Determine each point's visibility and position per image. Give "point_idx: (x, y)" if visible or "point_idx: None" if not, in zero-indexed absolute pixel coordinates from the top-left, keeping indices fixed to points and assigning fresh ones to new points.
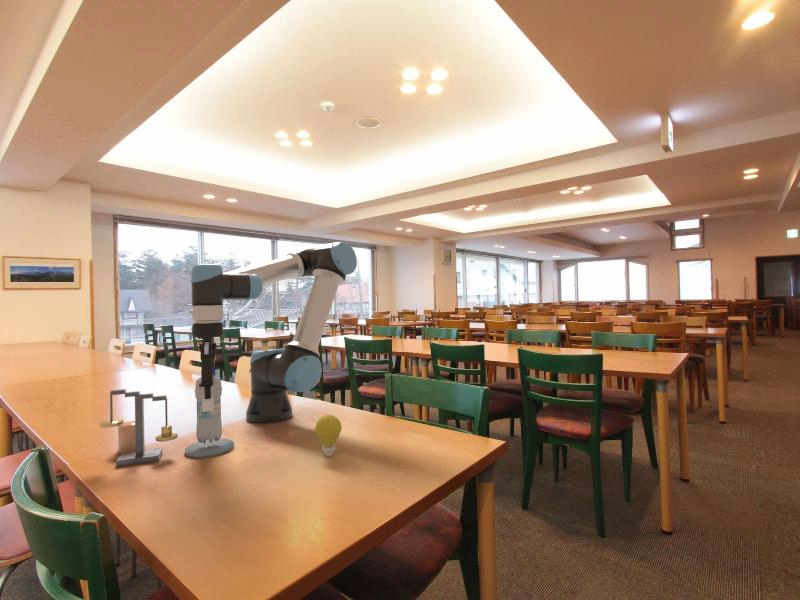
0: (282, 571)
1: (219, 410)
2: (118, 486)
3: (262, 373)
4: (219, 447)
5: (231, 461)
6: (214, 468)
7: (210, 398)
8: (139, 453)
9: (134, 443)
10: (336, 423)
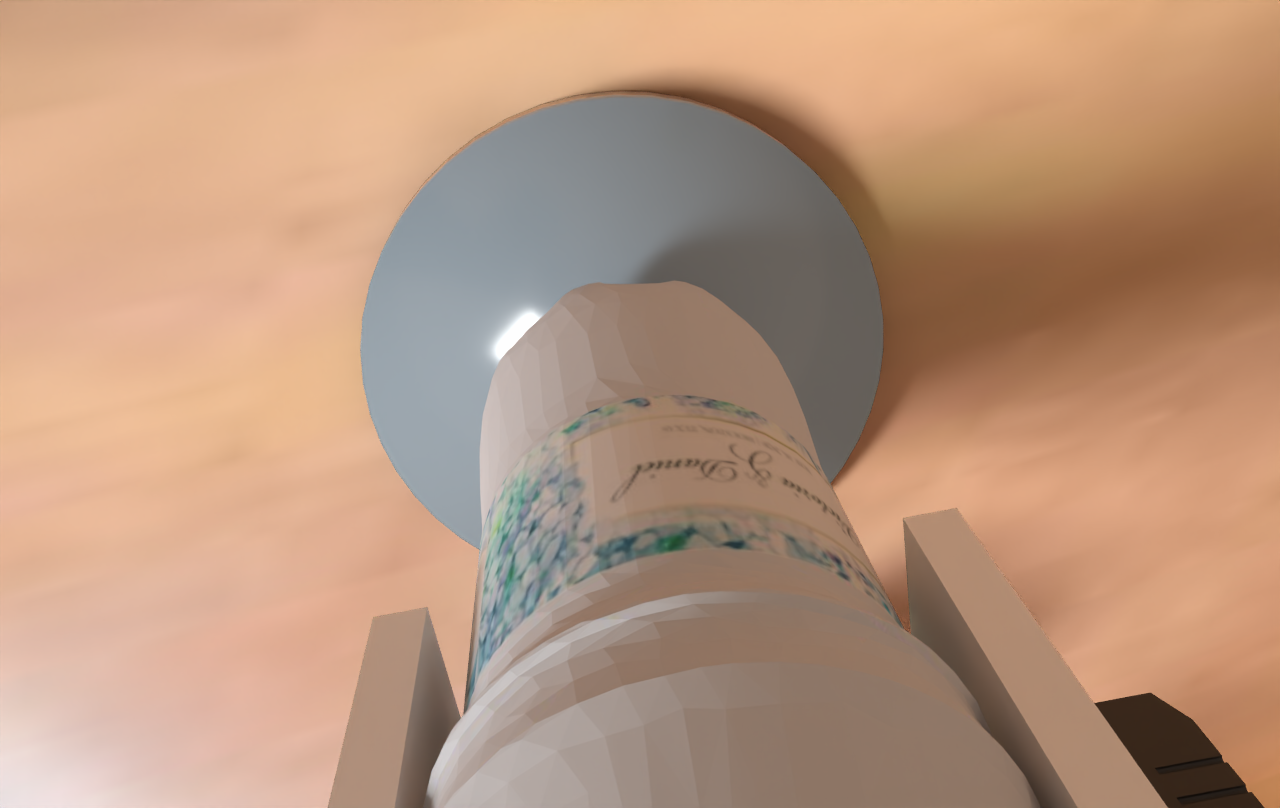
0: None
1: (734, 442)
2: (1253, 756)
3: None
4: (714, 243)
5: (1085, 20)
6: (1214, 162)
7: (1152, 700)
8: None
9: None
10: None
